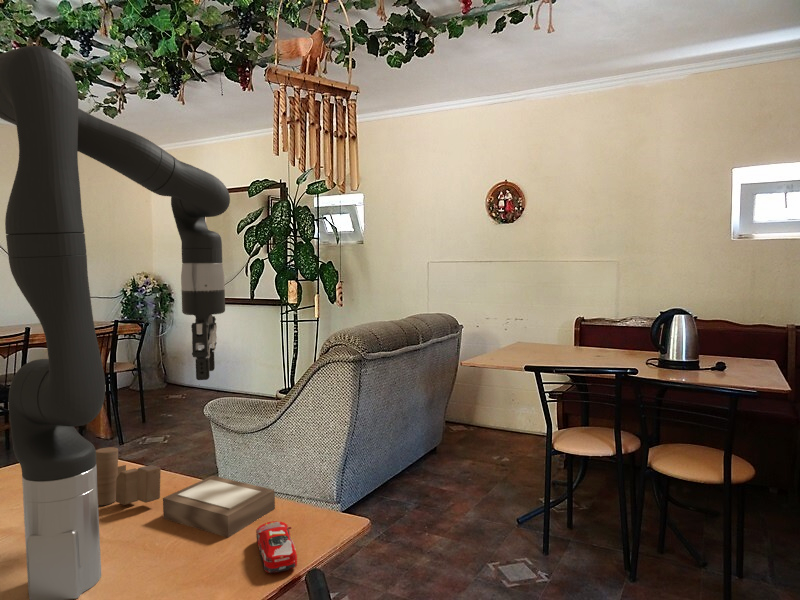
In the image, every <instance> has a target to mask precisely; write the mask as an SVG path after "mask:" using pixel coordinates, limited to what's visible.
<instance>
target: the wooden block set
mask: <svg viewBox="0 0 800 600" xmlns="http://www.w3.org/2000/svg"><path fill="white" fill-rule="evenodd" d="M95 450H96V467H97V491H98V506H107V505H110V504H113V503H115V502H116V503H119V504H121V505H123V506H126V505H129V504H132V503H135V502H138V501H140V502H143V503H144V504H145V503H146V504H148V503H150V502H153V501H156V500H160V498H161V472H162V469H161V467H160V466H158V465H154V464H149V465H144V466H141V467H138V468H131V469H127V464H124V465H120V466H119V463H118V462H119V448H118V447H114V446H113V447H112V446H111V447H103V448H98V449H95Z"/></svg>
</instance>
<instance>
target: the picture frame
mask: <svg viewBox="0 0 800 600" xmlns="http://www.w3.org/2000/svg"><path fill="white" fill-rule="evenodd" d="M275 494H276V492H275V489H272V488H267V487H262V486H260V485H259V486H258V485H254V484H250V483H246V482H242V481H239V480H238V481H237V480H233V479H229V478H224V477H221V476H215V475H211V476H209V477H207V478H204V479H203V480H200V481H198V482H195V483H193V484H191V485H189V486H187V487H184V488H182V489H180V490H178V491H175V492H173V493H171V494H169V495H166V496H164V497H162V508H163V509H162V513H163V520H166V521H171V522H173V523H178V524H180V525H184V526H187V527H192V528H195V529H197V530H202V531H204V532H207V533H211V534H214V535H218V536H221V537H225V538H231V537H232V536H233V535H235V534H237V533H238V532H240V531H241V530H243V529H245V528H247V527H248V526H250V525H251V524H253V523H255V522H256V521H258V520H259V518H260V519H261V518H263V517H264V515H265V516H266V515H268V514H270V513H271V512H273V511H274V510H276V500H275V499H276V497H275ZM262 516H263V517H262ZM257 519H258V520H257ZM254 521H255V522H254Z"/></svg>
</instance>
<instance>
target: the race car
mask: <svg viewBox="0 0 800 600" xmlns="http://www.w3.org/2000/svg"><path fill="white" fill-rule="evenodd" d="M291 529H292V526H289V525H288V524H287V523H286V522H284V521H278V520H274V521H268V522H265V523H263V524H261V525H259V526H258V527H257V529H255V533H256V534H255V536H256V543H257V546H258V551H259V555H260V560H261V562H262V567H263V568H262V569H263V570H264V571H265V572H266V573H269V574H277V573H280V572H284V571H288V570H293V569H294V568H297V566H298V553H297V549H296V546H295V543H294V540H293V537H292V534H291V531H290V530H291Z"/></svg>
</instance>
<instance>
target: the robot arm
mask: <svg viewBox="0 0 800 600" xmlns="http://www.w3.org/2000/svg"><path fill="white" fill-rule="evenodd" d="M0 119H1V120H4V121H6V122H8V123H10V124H12V125H14V126H15V127H16V131H17V132H16V134H17V140H18V163H17V164H18V165H17V169H16V172H15V176H14V177H15V178H14V181H13V184H12V188H11V190H10V191H11V192H10V194H9V198H8V202H7V206H6V211H5V219H4V222H5V225H4V226H5V229H4V230H5V237H6V249H7V257H8V263H9V264H8V265H9V268H10V272H11V275H12V277H13V279H14V281H15V283H16V285H17V287H18V289H19V290H20V292H21V294H22V295H23V296H24V299H25V300H26V301H27V303H28V304H29V305H30V307H31V309H32V310H33V312H34V314H35V315H36V317H37V319H38V321H39V323H40V325H41V327H42V330H43V333H44V336H45V337H44V338H45V342H46V343H45V344H46V348H47V351H46V352H47V358H41V359H40V358H39V359H34V360H31V361H28V362H26V363H25V364H23V366H21V367H19V369H18V370H17V371H16V373H15V374H14V376H13V378H12V380H11V383H10V386H9V391H8V400H7V401H8V413H9V424H10V432H11V439H12V440H11V441H12V442H11V443H12V449H13V453H14V456H15V458H16V460H17V462H18V463H19V465H20V468H21V481H22V500H23V502H22V503H23V520H24V537H25V540H24V541H25V557H26V558H25V559H26V572H27V573H26V574H27V577H26V578H27V589H28V590H27V591H28V593H27V594H28V599H29V600H73V599H74V600H75V599H78V598H79V597H80V596H81V595H82V594H83V593H85V592H87V591H88V590H90V589H91V588H92V587H94V586H96V584H97V583H98V582H99V581H100V580H101V577H102V561H101V558H102V557H101V542H100V540H101V537H100V516H99V515H100V514H99V505H98V491H97V467H96V450H97V449H96V448H95V446H94V444H93V443H92V442H91V441H89V440H88V439H86V438H85V437H84V436H82V435H81V434H80V433H79V432H78V430H77V429H76V428H75V427H80V426H85V425H87V424H89V423H91V422H93V420H95V418H97V417H98V416H99V414H100V412H101V410H102V408H103V406H104V402H105V400H106V399H105V398H106V377H105V376H106V375H105V372H104V365H103V362H102V360H103V359H102V356H101V350H100V346H99V342H98V338H97V333H96V328H95V322H94V314H93V307H92V300H91V293H90V292H91V290H90V284H89V283H90V282H89V276H88V255H87V244H86V235H85V225H84V218H83V210H82V197H81V183H80V173H79V172H80V171H79V159H78V156H79V155H78V153H80V154H83V155H85V156H87V157H89V158H91V159H93V160H95V161H97V162H98V163H101V164H103V165H105V166H107V167H109V168H110V169H112V170H114V171H115V172H117V173H119V174H121V175H123V176H125V178H128V179H130V180H131V181H133V182H134V183H136V184H137V185H140V186H141V187H142V188H145V189H146V190H148V191H150V192H152V193H154V194H156V195H158V196H161V197H170V206H171V207H170V208H171V212H172V215H173V219H174V222H175V225H176V228H177V232H178V235H179V238H180V240H181V272H180V273H181V274H180V285H181V288H180V289H181V291H180V292H181V313H183V314H184V315H186V316H194V317H195V320H194V321H195V322H192V323H191V325H190V326H191V343H192V345H191V346H192V347H191V348H192V353H191V356H192V358H194V360H195V379H196V380H197V381H207V380H209V379H210V375H211V374H210V372H213V371H214V370H215V362H216V361H215V351H216V346H217V338H218V337H217V330H218V329H217V327H218V326H217V322H216V320H217V319H216V316H214V315H221V314H223V313H225V311H226V298H225V297H226V295H225V294H226V293H225V292H226V291H225V287H226V286H225V272H224V266H223V241H222V237H221V235H220V234H219V233H218V232H217V231H213V230H210V229H209V228H208V226H207V222H206V219H205V218H211V217H218V216H221V215H222V214H224V213H225V212H226V211H227V210H228V209H229V206H230V203H231V196H230V191H229V190H228V188H227V187H226V185H225V184H224V182H223V181H222V180H220V179H219V178H218V177H217V176H215V175H213V174H212V173H209V172H208V171H206V170H204V169H200V168H198V167H196V166H194V165H192V164H188V163H186V162H184V161H181V160H179V159H177V157H175V156H173V155H172V154H170V153H169V152H168V151H166V150H165V149H163V148H161V147H160V146H159V145H157V144H156V143H154V142H153V141H151V140H149V139H148V138H146V137H144V136H141V135H139V134H138V133H135V132H134V131H131V130H128V129H126V128H123V127H121V126H118V125H116V124H113V123H110V122H108V121H105V120H103V119H101V118H98V117H96V116H94V115H92V114H91V113H88V112H86V111H84V110H82V109H81V108H79V91H78V87H77V82H76V79H75V76H74V74H73V71H72V70H71V68H70V66H69V64H67V62H66V61H65V60H64V58H62V57H61V56H60V54H58V53H56V52H55V51H53V50H51V48H50V49H49V48H47V47H44V46H41V45H26V46H22V47H18V48H15V49H12V50H9V51H5V52H2V53H0Z"/></svg>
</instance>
